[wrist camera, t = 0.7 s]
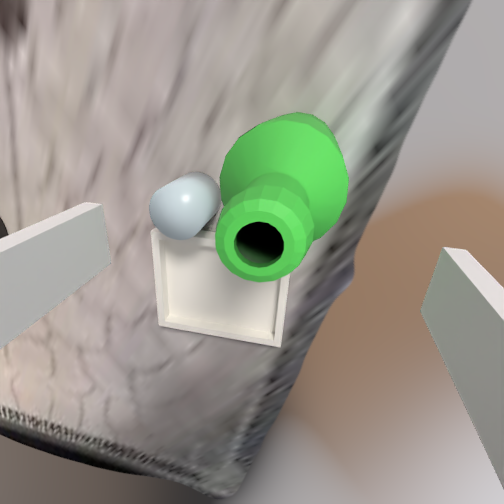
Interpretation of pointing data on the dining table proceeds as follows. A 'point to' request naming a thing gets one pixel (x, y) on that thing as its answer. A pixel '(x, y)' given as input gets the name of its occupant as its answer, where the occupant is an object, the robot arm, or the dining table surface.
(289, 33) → the dining table surface
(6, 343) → the robot arm
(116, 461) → the dining table surface
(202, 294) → the tray
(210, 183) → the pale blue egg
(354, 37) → the dining table surface
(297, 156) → the bottle
